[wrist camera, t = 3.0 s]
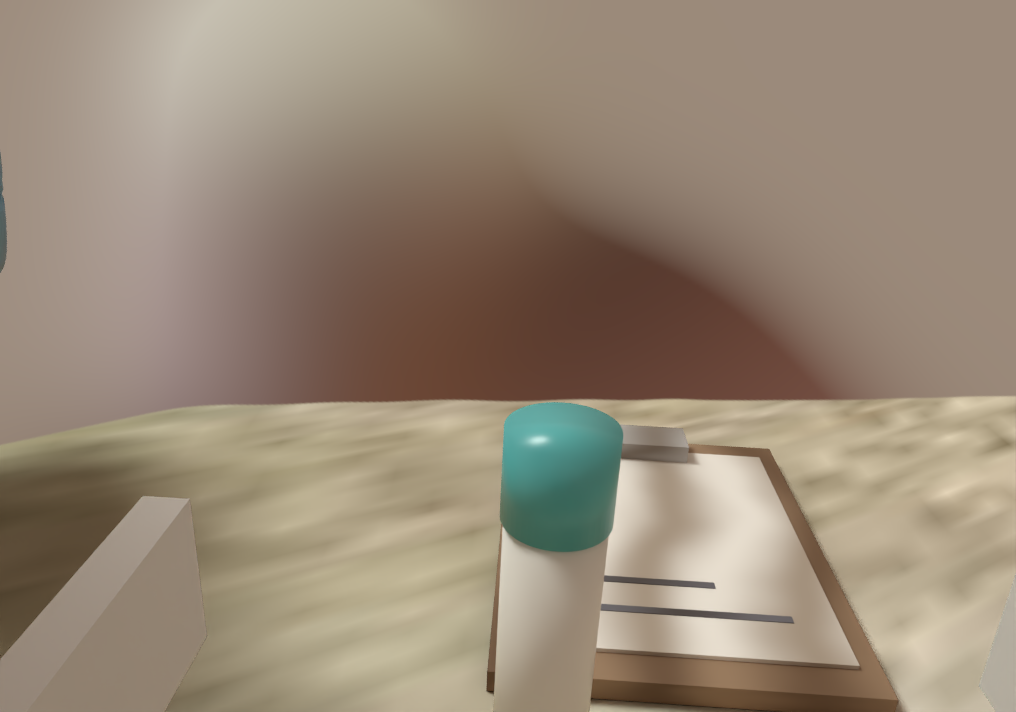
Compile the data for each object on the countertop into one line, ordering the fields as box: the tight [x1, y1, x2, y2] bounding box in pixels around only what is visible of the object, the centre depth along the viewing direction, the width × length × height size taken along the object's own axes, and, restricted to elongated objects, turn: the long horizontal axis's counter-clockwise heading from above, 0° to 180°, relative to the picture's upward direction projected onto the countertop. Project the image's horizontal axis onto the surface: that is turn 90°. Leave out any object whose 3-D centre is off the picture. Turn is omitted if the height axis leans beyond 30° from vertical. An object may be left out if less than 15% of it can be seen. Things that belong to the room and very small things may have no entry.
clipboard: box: [487, 425, 898, 712], centre depth 41 cm, size 16×20×2 cm
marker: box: [493, 402, 623, 712], centre depth 26 cm, size 3×3×14 cm
